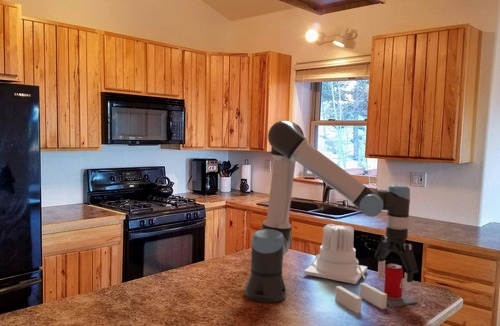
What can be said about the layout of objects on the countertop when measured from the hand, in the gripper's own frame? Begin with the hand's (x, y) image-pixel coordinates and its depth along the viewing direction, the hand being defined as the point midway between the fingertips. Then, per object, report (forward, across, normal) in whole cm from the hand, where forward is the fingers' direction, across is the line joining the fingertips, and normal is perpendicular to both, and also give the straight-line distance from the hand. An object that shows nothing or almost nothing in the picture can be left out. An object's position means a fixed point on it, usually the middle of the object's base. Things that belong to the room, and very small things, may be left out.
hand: (393, 283), depth 153 cm
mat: (+6, 0, 0) cm, 6 cm away
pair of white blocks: (+6, 0, +15) cm, 16 cm away
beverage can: (+5, 0, 0) cm, 5 cm away
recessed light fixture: (+6, +30, +4) cm, 31 cm away
